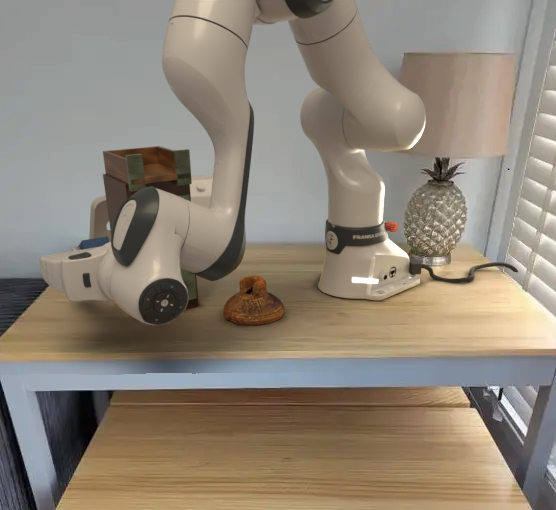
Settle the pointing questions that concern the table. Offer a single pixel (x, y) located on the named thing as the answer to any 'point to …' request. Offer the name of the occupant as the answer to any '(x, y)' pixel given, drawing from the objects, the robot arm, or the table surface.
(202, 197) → the milk carton
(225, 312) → the bell
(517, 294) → the table surface
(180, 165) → the drawer stand
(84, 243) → the case
